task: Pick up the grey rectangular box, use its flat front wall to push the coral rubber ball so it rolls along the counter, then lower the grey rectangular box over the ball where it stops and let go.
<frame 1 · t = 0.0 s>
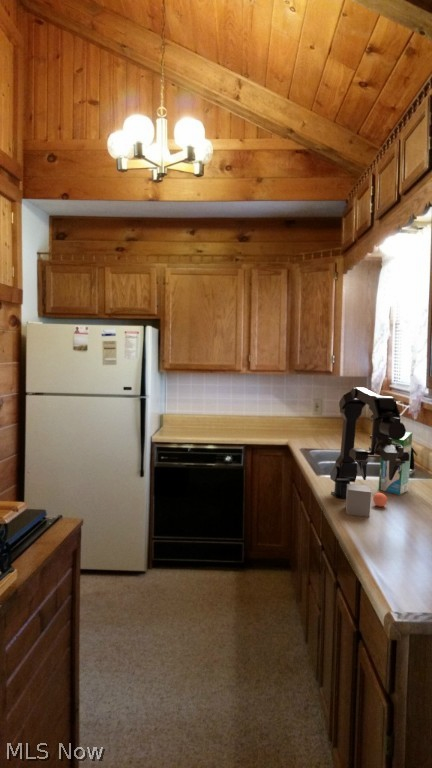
hand: (377, 480, 153), 15 cm above the counter, tool pointing down, fingers open, 9 cm apart
ball: (380, 499, 172), on the counter
milk carton: (393, 490, 193), on the counter
grey rectangular box: (357, 511, 164), on the counter
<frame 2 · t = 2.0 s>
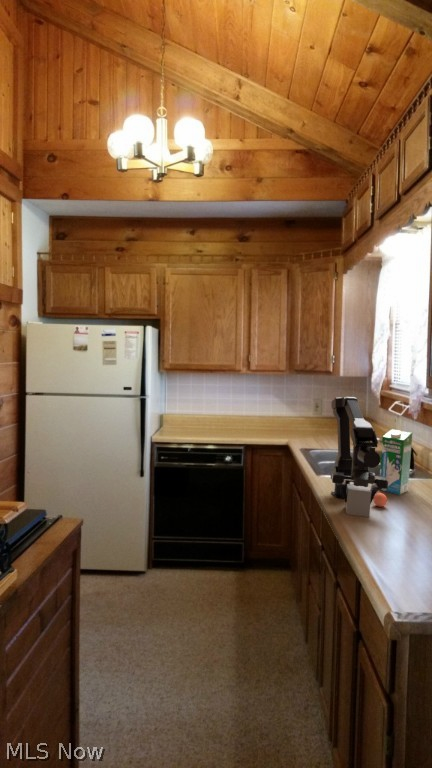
hand: (357, 503, 164), 3 cm above the counter, tool pointing down, fingers closed on grey rectangular box, 8 cm apart
grey rectangular box: (357, 511, 164), on the counter, touching gripper
everything else where it was.
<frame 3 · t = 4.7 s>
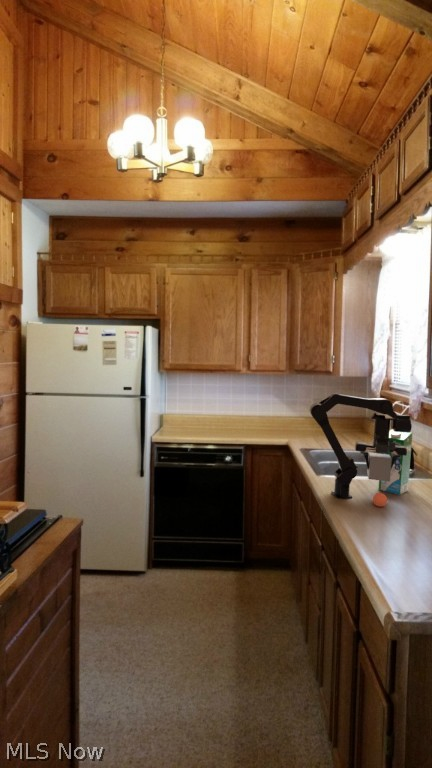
hand: (378, 470, 180), 11 cm above the counter, tool pointing down, fingers closed on grey rectangular box, 8 cm apart
grey rectangular box: (378, 477, 180), point 8 cm above the counter, touching gripper
everything else where it was.
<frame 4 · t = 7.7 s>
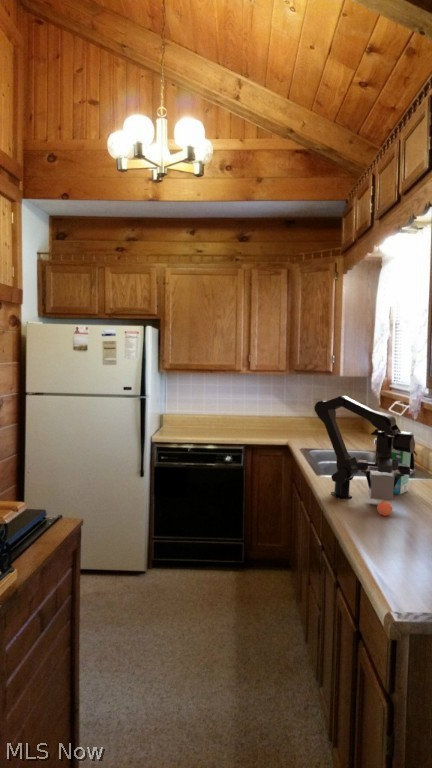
hand: (380, 489, 172), 6 cm above the counter, tool pointing down, fingers closed on grey rectangular box, 8 cm apart
ball: (384, 508, 162), on the counter
grey rectangular box: (380, 496, 173), point 3 cm above the counter, touching gripper
everything else where it was.
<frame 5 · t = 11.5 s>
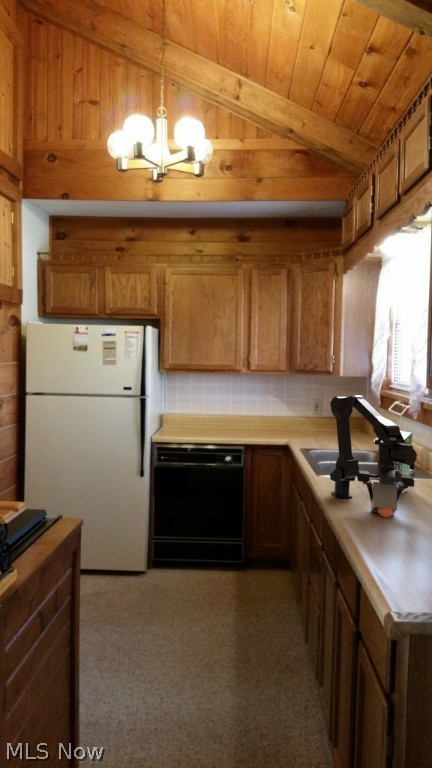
hand: (383, 502, 163), 4 cm above the counter, tool pointing down, fingers closed on grey rectangular box, 8 cm apart
ball: (385, 509, 160), on the counter, touching grey rectangular box
grey rectangular box: (383, 510, 161), point 2 cm above the counter, tilted 31°, touching ball, gripper
everything else where it was.
when the fingers open (4 cm above the counter, at t = 12.2 s): grey rectangular box stays where it is, point 2 cm above the counter.
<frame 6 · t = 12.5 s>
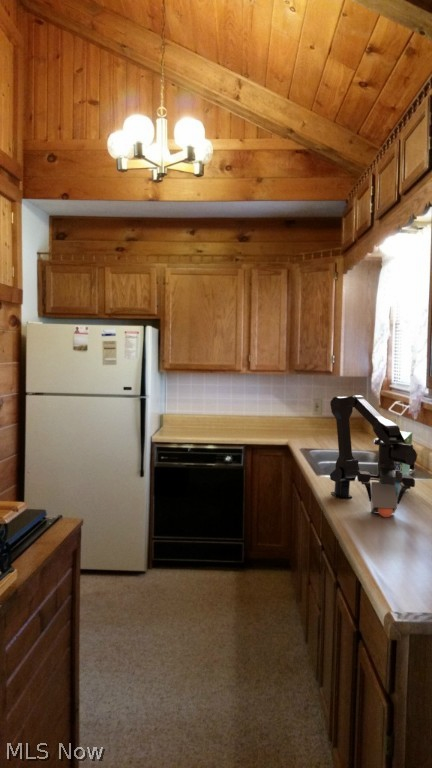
hand: (383, 502, 163), 4 cm above the counter, tool pointing down, fingers open, 9 cm apart
ball: (385, 509, 160), on the counter
grey rectangular box: (383, 510, 161), point 2 cm above the counter, tilted 32°, touching gripper
everything else where it was.
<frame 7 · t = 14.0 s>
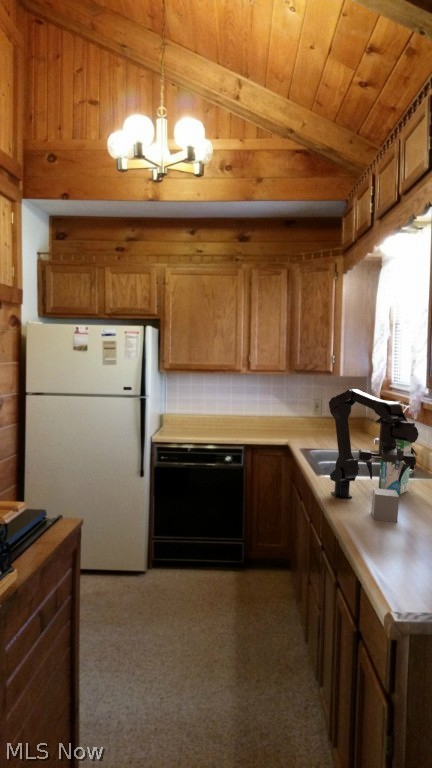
hand: (384, 480, 163), 12 cm above the counter, tool pointing down, fingers open, 9 cm apart
grey rectangular box: (383, 516, 160), on the counter
everything else where it was.
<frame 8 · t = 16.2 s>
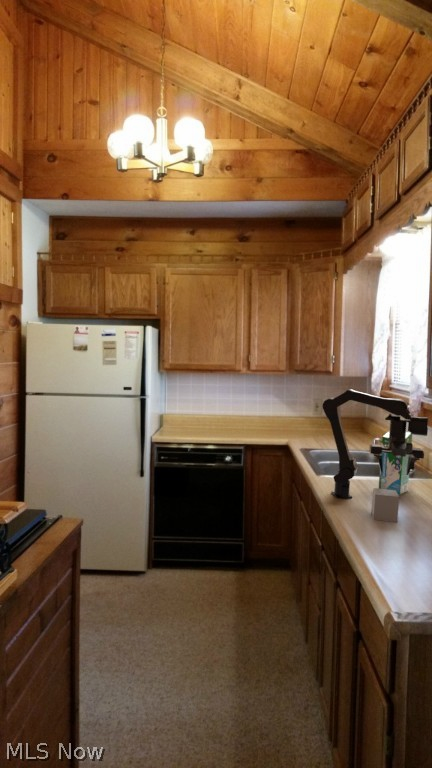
hand: (394, 473, 174), 12 cm above the counter, tool pointing down, fingers open, 9 cm apart
nothing on the counter moved.
at the end: ball 0.4 cm from the grey rectangular box (horizontally); grey rectangular box on the counter; ball moved 11.3 cm from its start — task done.
